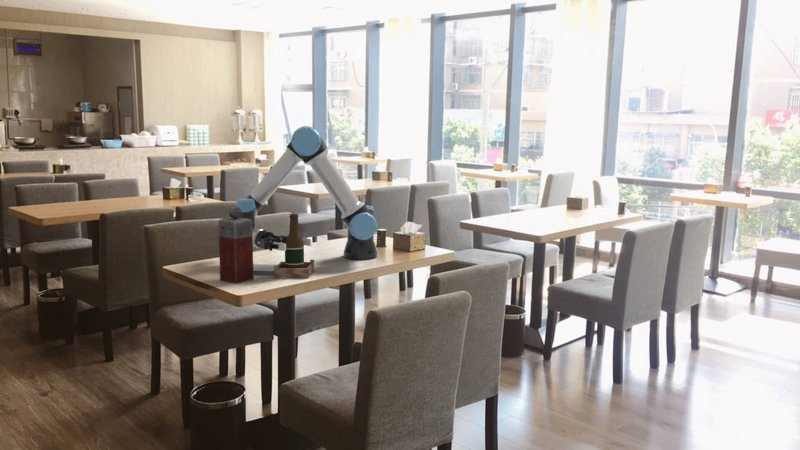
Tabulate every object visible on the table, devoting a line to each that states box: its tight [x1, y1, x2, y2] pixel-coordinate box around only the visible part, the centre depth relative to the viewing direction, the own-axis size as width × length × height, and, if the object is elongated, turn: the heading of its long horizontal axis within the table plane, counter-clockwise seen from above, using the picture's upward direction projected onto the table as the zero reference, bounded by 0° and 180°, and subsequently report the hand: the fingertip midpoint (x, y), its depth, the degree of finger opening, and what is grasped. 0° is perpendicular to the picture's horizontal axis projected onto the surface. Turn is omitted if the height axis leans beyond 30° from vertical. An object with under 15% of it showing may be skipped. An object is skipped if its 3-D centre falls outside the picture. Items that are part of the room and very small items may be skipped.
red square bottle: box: [218, 206, 254, 285], centre depth 258 cm, size 9×11×28 cm
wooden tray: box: [273, 259, 315, 279], centre depth 270 cm, size 14×14×4 cm
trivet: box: [253, 263, 275, 276], centre depth 275 cm, size 12×12×2 cm
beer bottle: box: [284, 213, 305, 268], centre depth 269 cm, size 8×8×24 cm
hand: (298, 245), depth 267 cm, fingers open, 13 cm apart
